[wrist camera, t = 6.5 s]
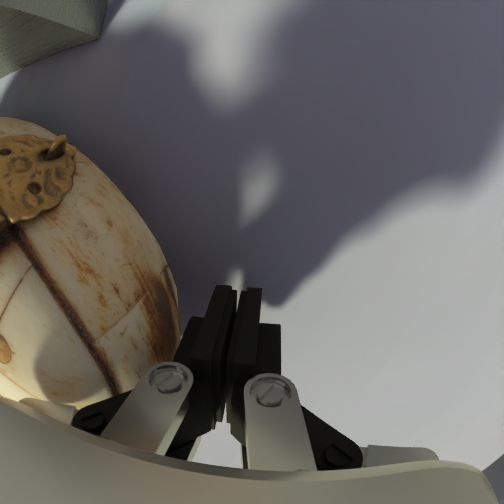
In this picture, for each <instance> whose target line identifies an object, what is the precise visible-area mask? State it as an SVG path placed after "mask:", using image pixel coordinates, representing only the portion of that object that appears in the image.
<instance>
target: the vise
mask: <svg viewBox="0 0 504 504" xmlns="http://www.w3.org/2000/svg"><path fill="white" fill-rule="evenodd" d="M106 5H107V0H0V78H2V77H4V76H6V75H8V74H10V73H12V72H14V71H16V70H18V69H20V68H22V67H24V66H26V65H28V64H31V63H33V62H35V61H38V60H40V59H42V58H45V57H47V56H50V55H52V54H55V53H58V52H60V51H63V50H66V49H69V48H72V47H75V46H78V45H81V44H84V43H87V42H91V41H94V40H98V39H100V35H101V29H102V24H103V19H104V14H105V9H106Z"/></svg>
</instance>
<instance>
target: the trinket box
mask: <svg viewBox="0 0 504 504" xmlns="http://www.w3.org/2000/svg"><path fill="white" fill-rule="evenodd" d="M66 141H67V136H66V135H59V136H56V135H55V134H53V133H52V132H50V131H48V130H46V129H44V128H43V127H41V126H39V125H36V124H34V123H31V122H28V121H25V120H21V119H16V118H10V117H0V396H2V397H6V398H9V399H12V400H15V401H17V402H18V401H20V400H21V399H24V398H35V399H40V400H44V401H49V402H55V403H60V404H66V405H72V406H76V408H77V409H79V410H80V409H81V408H83V407H85V406H88V405H90V404H93V403H96V402H99V401H102V400H105V399H108V398H111V397H113V396H116V395H119V394H121V393H124V392H127V391H129V390H132V389H134V387H135V386H136V385H137V383H138V382H139V381H140V379H141V378H142V376H143V375H144V374H145V372H146V371H147V370H148V369H149V368H150V367H152V366H154V365H155V364H158V363H162V362H172V360H173V358H174V355H175V353H176V351H177V348H178V346H179V344H180V341H181V332H180V320H179V310H178V294H177V287H176V285H175V281H174V279H173V276H172V273H171V270H170V268H169V266H168V264H167V262H166V259H165V257H164V254H163V252H162V250H161V248H160V246H159V244H158V242H157V240H156V239H155V237H154V235H153V234H152V233H151V231H150V230H149V228H148V227H147V225H146V223H145V222H144V220H143V219H142V218H141V216H140V215H139V213H138V212H137V210H136V209H135V208H134V207H133V205H132V204H131V203H130V202H129V201H128V200H127V198H126V197H124V195H123V194H122V192H121V191H120V190H119V189H118V188H117V187H116V185H115V184H114V183H113V182H112V181H111V180H110V179H109V178H108V177H107V176H106V175H105V174H104V173H103V171H101V170H100V168H99V167H97V166H96V165H95V164H94V163H93V162H92V161H91V160H90V159H89V158H87V157H86V156H85V155H84V154H83V153H81V152H80V151H78V150H77V148H76V147H75V146H73V145H70V144H68V143H66Z"/></svg>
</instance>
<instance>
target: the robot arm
mask: <svg viewBox="0 0 504 504" xmlns="http://www.w3.org/2000/svg"><path fill="white" fill-rule="evenodd" d="M261 296H262V288H252V287H247V291H241V294H240V299H239V303H238V308H237V290H232V286H228V285H216V287H215V290H214V292H213V295H212V298H211V300H210V303H209V306H208V308H207V311H206V314H205V316H204V318H203V317H195V316H192V317H191V318H190V320H189V323H188V325H187V327H186V330H185V332H184V334H183V337H182V339H181V341H180V344H179V346H178V348H177V351H176V353H175V355H174V358H173V360H172V362H162V363H158V364H155V365H154V366H152V367H150V368H149V369H148V370H147V371H146V372H145V374H144V375H143V376H142V378H141V379H140V381H139V382H138V383H137V385H136V386H135V387H134V389H132V390H129V391H127V392H124V393H121V394H119V395H116V396H113V397H111V398H108V399H105V400H102V401H99V402H96V403H93V404H90V405H88V406H85V407H83V408H81V409H80V410H79V409H77V408H76V406H72V405H66V404H60V403H55V402H49V401H44V400H40V399H35V398H24V399H21V400H20V401H18V402H17V401H15V400H12V399H9V398H6V397H2V396H0V504H498V502H497V499H496V496H495V494H494V492H493V490H492V487H491V486H490V483H489V482H488V480H487V478H486V477H485V476H484V474H483V473H482V472H481V471H480V470H479V469H477V468H475V467H474V466H471V465H468V464H465V463H460V462H453V461H441V460H439V458H438V456H437V455H436V454H435V452H433V451H432V450H430V449H428V448H422V447H392V446H378V445H368V446H367V447H359V446H358V445H357V444H356V443H354V442H353V441H352V440H350V439H349V438H347V437H346V436H344V435H343V434H341V433H340V432H338V431H337V430H336V429H334V428H333V427H331V426H330V425H328V424H327V423H325V422H324V421H323V420H321V419H320V418H318V417H317V416H316V415H314V414H313V413H311V412H310V411H309V410H307V409H306V408H305V407H303V406H302V405H301V404H300V400H299V397H298V393H297V389H296V387H295V385H294V384H293V383H292V382H291V381H290V380H289V379H288V378H286V377H284V376H282V375H281V325H280V324H267V323H259V321H260V309H261ZM236 310H237V313H236ZM225 404H226V411H227V423H231V434H232V435H233V436H234V437H235V438H236V439H237V440H238V441H239V442H240V443H241V459H242V469H240V468H231V467H222V466H215V465H208V464H202V463H196V462H192V459H193V457H194V455H195V453H196V450H197V448H198V446H199V444H200V441H201V435H203V434H205V433H207V432H209V431H211V429H214V430H215V425H216V421H218V422H222V420H223V415H224V409H225Z"/></svg>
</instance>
